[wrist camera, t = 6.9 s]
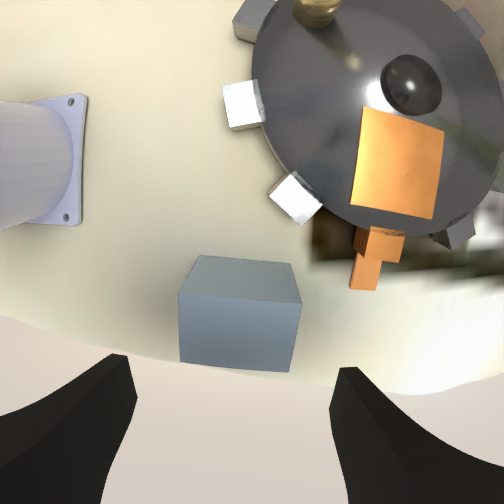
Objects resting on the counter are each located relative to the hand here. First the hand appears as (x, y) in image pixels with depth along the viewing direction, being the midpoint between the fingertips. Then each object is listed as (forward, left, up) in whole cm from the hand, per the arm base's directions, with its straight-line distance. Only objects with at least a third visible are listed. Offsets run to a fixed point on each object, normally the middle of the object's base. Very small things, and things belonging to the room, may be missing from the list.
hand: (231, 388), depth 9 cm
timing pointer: (+7, +2, -8) cm, 11 cm away
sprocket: (+7, +12, -8) cm, 16 cm away
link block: (0, 0, -8) cm, 8 cm away
